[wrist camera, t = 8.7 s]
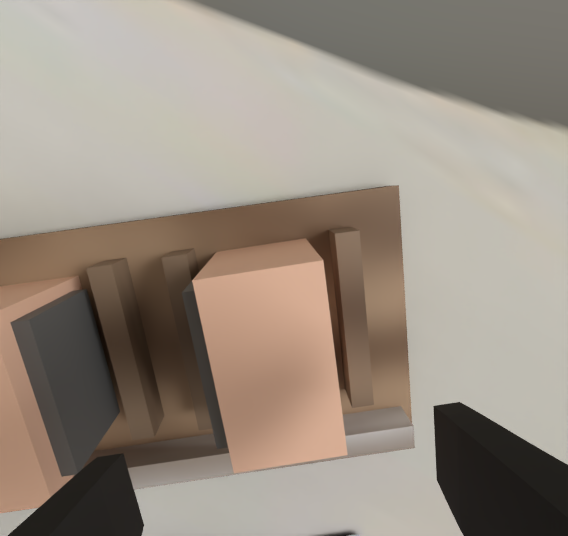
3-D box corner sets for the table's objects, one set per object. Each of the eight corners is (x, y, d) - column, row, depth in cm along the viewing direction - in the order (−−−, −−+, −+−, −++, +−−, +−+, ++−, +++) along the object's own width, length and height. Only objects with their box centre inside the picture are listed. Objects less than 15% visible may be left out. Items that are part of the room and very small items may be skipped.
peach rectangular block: (305, 238, 15) (323, 260, 10) (324, 378, 17) (347, 455, 12) (203, 254, 15) (172, 283, 10) (231, 393, 17) (216, 476, 12)
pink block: (128, 411, 17) (71, 502, 12) (34, 425, 17) (-63, 522, 12) (91, 273, 15) (7, 312, 10) (-13, 287, 15) (-148, 334, 10)
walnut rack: (405, 427, 19) (425, 462, 16) (3, 486, 18) (-37, 531, 16) (390, 185, 16) (412, 184, 13) (-87, 250, 15) (-153, 261, 13)
